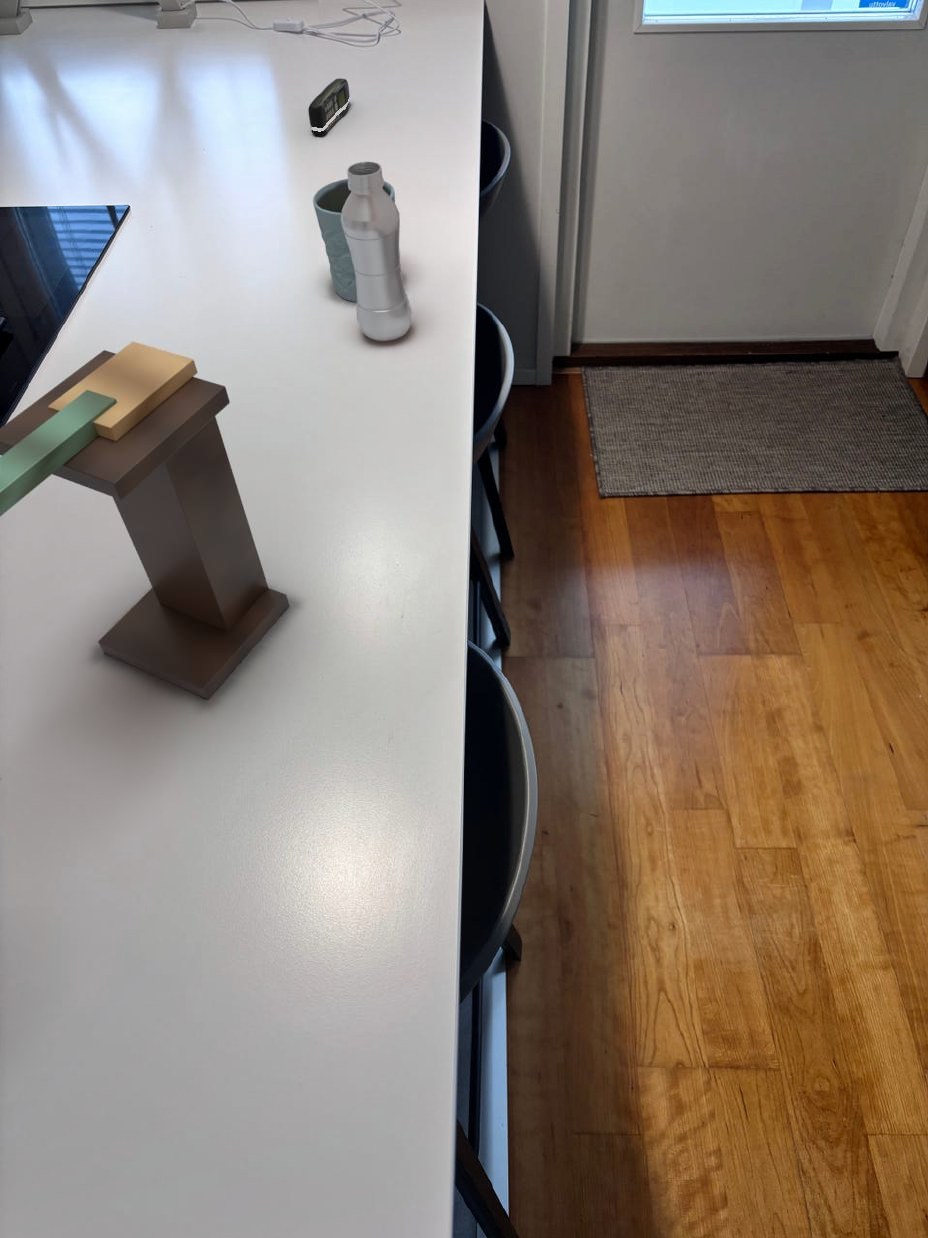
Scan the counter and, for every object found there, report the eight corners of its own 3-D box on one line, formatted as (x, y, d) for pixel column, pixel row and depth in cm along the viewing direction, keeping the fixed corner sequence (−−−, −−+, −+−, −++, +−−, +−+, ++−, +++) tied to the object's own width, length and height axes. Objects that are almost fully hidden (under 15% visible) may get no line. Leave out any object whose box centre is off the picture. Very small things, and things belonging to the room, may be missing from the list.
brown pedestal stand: (208, 699, 81) (114, 483, 63) (103, 652, 85) (-13, 437, 67) (289, 605, 88) (225, 385, 70) (188, 566, 92) (104, 349, 74)
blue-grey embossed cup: (351, 313, 121) (336, 221, 112) (314, 281, 126) (297, 191, 117) (419, 287, 124) (409, 195, 115) (380, 257, 130) (368, 168, 121)
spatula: (-9, 546, 59) (-20, 529, 58) (-74, 519, 62) (-86, 502, 60) (198, 372, 71) (192, 355, 70) (137, 354, 73) (131, 337, 72)
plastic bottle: (413, 346, 115) (394, 179, 100) (357, 349, 115) (330, 183, 100) (414, 317, 119) (396, 153, 104) (361, 320, 119) (335, 157, 104)
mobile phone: (320, 107, 154) (352, 70, 163) (303, 106, 154) (336, 69, 163) (326, 139, 158) (356, 101, 167) (309, 138, 158) (340, 100, 167)
